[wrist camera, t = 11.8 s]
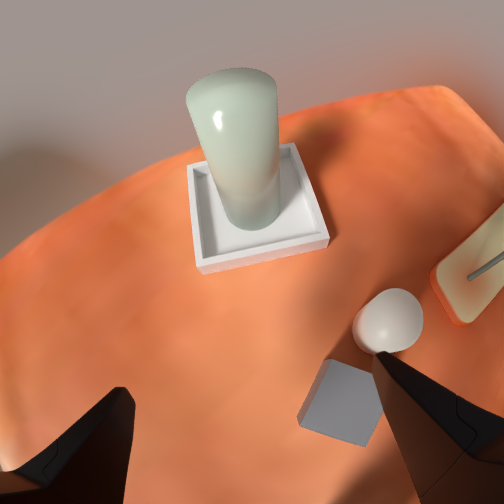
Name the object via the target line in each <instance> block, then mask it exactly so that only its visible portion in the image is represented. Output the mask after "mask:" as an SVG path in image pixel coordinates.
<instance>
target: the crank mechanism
mask: <svg viewBox="0 0 504 504" xmlns="http://www.w3.org/2000/svg"><path fill="white" fill-rule="evenodd" d="M429 280H430V285H431V287H432V289H433V291H434V292H435V294H436V296H437V297H438V299H439V301H440V302H441V304H442V306H443V307H444V309H445V311H446V313H447V314H448V316H449V318H450V320H451V321H452V322H453V324H455V325H456V326H460V327H461V326H465V325H468V324H471V323H472V322H474V321H475V320H476V319H477V318H478V316H479V315H480V314H481V313H482V312H483V311H484V310H485V309H486V308H487V306H488V305H489V304H490V303H491V302H492V300H493V299H494V298H495V297H496V296H497V294H498V293H499V292H500V291H501V289H502V288H503V287H504V202H503V203H502V204H501V205H500V207H499V208H498V209H497V210H496V211H495V212H494V213H493V214H492V215H491V216H490V217H489V218H488V219H487V220H486V221H484V222H483V223H482V224H481V225H480V226H479V227H478V228H477V229H476V230H475V231H474V232H473V233H472V234H471V235H470V236H469V237H467V238H466V239H465V240H464V241H463V242H462V243H461V244H460V245H459V246H457V247H456V248H455V249H454V250H453V251H452V252H450V253H449V254H448V255H447V256H446V257H445V258H443V259H442V260H441V261H440V262H439V263H437V264H436V265H435V266H434V267H433V268H432V269H431V271H430V275H429Z"/></svg>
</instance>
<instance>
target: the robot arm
mask: <svg viewBox="0 0 504 504" xmlns="http://www.w3.org/2000/svg"><path fill="white" fill-rule="evenodd" d="M372 375H373V379H374V382H375V385H376V388H377V391H378V395H379V398H380V401H381V405H382V408H383V411H384V413H385V416H386V418H387V420H388V422H389V425H390V427H391V429H392V432H393V434H394V436H395V439H396V441H397V444H398V446H399V448H400V451H401V453H402V456H403V458H404V461H405V463H406V466H407V468H408V471H409V473H410V476H411V478H412V481H413V483H414V486H415V489H416V491H417V494H418V497H419V499H420V503H421V504H504V418H502V417H500V416H498V415H495V414H493V413H491V412H488V411H486V410H484V409H482V408H480V407H478V406H476V405H474V404H472V403H470V402H469V401H467V400H465V399H463V398H462V397H460V396H458V395H457V396H456V394H455V393H453V392H452V391H450V390H448V389H447V388H445V387H444V386H442V385H440V384H439V383H437V382H435V381H434V380H432V379H430V378H429V377H427V376H426V375H424V374H422V373H421V372H419V371H417V370H416V369H414V368H413V367H411V366H409V365H408V364H406V363H404V362H403V361H401V360H400V359H398V358H396V357H395V356H393V355H392V354H390V353H388V352H387V351H381V352H378V353H375V354H374V356H373V364H372ZM135 407H136V405H135V401H134V399H133V398H132V396H131V394H130V393H129V391H128V390H127V389H126V388H125V387H115V388H113V389H112V390H111V391H110V392H109V393H108V394H107V395H106V396H105V397H103V398H102V399H101V400H100V401H99V402H98V403H97V404H96V405H94V406H93V407H92V408H91V409H90V410H89V411H88V412H87V413H85V414H84V415H83V416H82V417H81V418H80V419H79V420H78V421H76V422H75V423H74V424H73V425H72V426H71V427H70V428H69V429H67V430H66V431H65V432H64V433H63V434H62V435H61V436H60V437H58V439H56V440H55V441H54V442H53V443H52V444H50V445H49V446H48V447H47V448H46V449H44V450H43V451H42V452H40V453H39V454H38V455H36V456H35V457H34V458H32V459H31V460H29V461H28V462H27V463H25V464H24V465H22V466H21V467H19V468H18V469H16V470H13V471H7V472H0V504H123V500H124V492H125V485H126V478H127V471H128V465H129V459H130V453H131V447H132V441H133V432H134V419H135Z"/></svg>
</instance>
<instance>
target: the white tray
mask: <svg viewBox="0 0 504 504" xmlns="http://www.w3.org/2000/svg"><path fill="white" fill-rule="evenodd" d="M279 150H280V183H281V210H280V213H279V215H278V217H277V219H276V220H275V221H274V222H273V223H272V224H271V225H269V226H268V227H266V228H263V229H261V230H256V231H247V230H242V229H239V228H237V227H236V226H234V225H233V224H232V223H231V222H230V221H229V220H228V218H227V216H226V214H225V211H224V208H223V205H222V202H221V200H220V197H219V194H218V191H217V189H216V186H215V183H214V180H213V177H212V175H211V172H210V169H209V166H208V163H207V161H202V162H198V163H194V164H191V165H187V176H188V189H189V201H190V212H191V222H192V232H193V241H194V250H195V259H196V267H197V268H198V270H199V271H200V272H201V273H202V274H203V275H206V274H210V273H215V272H220V271H224V270H229V269H234V268H238V267H243V266H247V265H252V264H257V263H261V262H266V261H270V260H275V259H279V258H284V257H288V256H293V255H297V254H302V253H306V252H311V251H315V250H320V249H324V248H327V246H328V242H329V239H330V237H329V234H328V231H327V228H326V225H325V222H324V219H323V216H322V213H321V210H320V208H319V205H318V202H317V199H316V197H315V194H314V191H313V189H312V186H311V183H310V181H309V178H308V175H307V173H306V170H305V168H304V165H303V163H302V160H301V158H300V155H299V153H298V150H297V148H296V145H295V143H294V142H292V143H286V144H281V145H279Z"/></svg>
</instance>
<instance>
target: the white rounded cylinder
mask: <svg viewBox="0 0 504 504" xmlns="http://www.w3.org/2000/svg"><path fill="white" fill-rule="evenodd" d="M423 323H424V316H423V311H422V308H421V305H420V303H419V302H418V300H417V299H416V298H415V297H414V296H413V295H412V294H411V293H410V292H408V291H406V290H403V289H399V288H391V289H387V290H384V291H383V292H381V293H379V294H378V295H377V296H376V297H375V298H373V299H372V300H371V301H370V302H369V303H367V304H366V305H365V306H364V307H363V308H361V309H360V310H359V311H358V313H357V314H356V316H355V318H354V320H353V324H352V335H353V338H354V341H355V343H356V344H357V346H358V347H359V348H360V349H361V350H362V351H364V352H366V353H368V354H371V355H374V354H375V353H378V352H381V351H387V352H388V353H391V352H397V351H402V350H405V349H407V348H409V347H410V346H412V345H413V344H414V343H415V342H416V341H417V339H418V338H419V336H420V334H421V332H422V329H423Z"/></svg>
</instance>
